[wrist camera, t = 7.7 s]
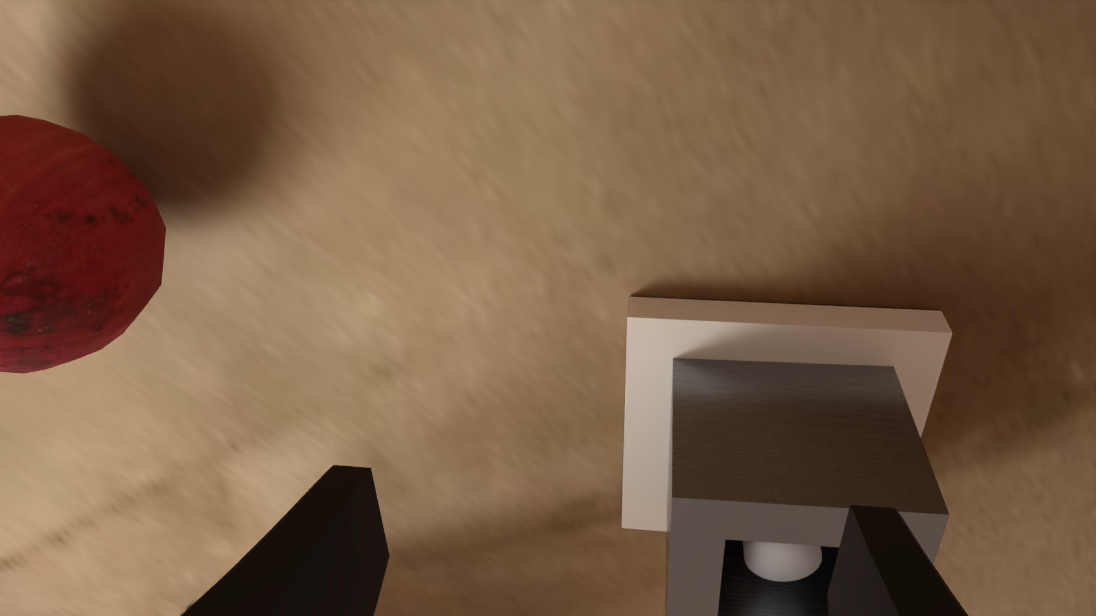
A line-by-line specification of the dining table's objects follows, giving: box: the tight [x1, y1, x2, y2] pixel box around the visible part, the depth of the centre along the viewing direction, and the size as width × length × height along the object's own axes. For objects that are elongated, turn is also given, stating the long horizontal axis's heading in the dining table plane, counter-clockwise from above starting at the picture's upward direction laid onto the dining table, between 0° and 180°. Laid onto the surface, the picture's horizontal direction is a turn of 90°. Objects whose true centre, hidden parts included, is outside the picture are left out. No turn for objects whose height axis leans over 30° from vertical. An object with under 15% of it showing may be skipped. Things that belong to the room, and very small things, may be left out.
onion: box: [0, 115, 166, 373], centre depth 18 cm, size 6×6×8 cm
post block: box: [622, 297, 952, 582], centre depth 21 cm, size 8×8×5 cm
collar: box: [665, 358, 949, 616], centre depth 20 cm, size 6×6×5 cm
